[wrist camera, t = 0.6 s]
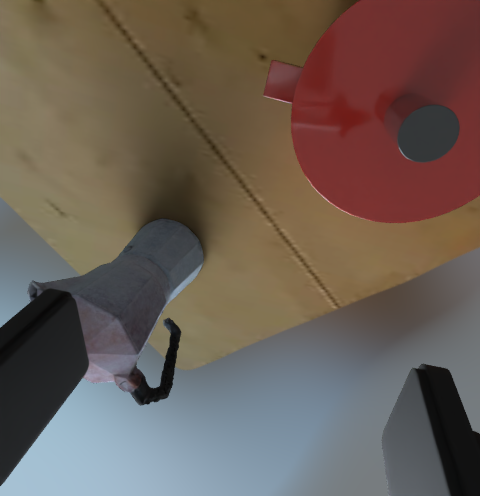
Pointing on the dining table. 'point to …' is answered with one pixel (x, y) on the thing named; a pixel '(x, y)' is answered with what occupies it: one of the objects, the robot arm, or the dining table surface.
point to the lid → (393, 109)
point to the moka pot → (133, 305)
